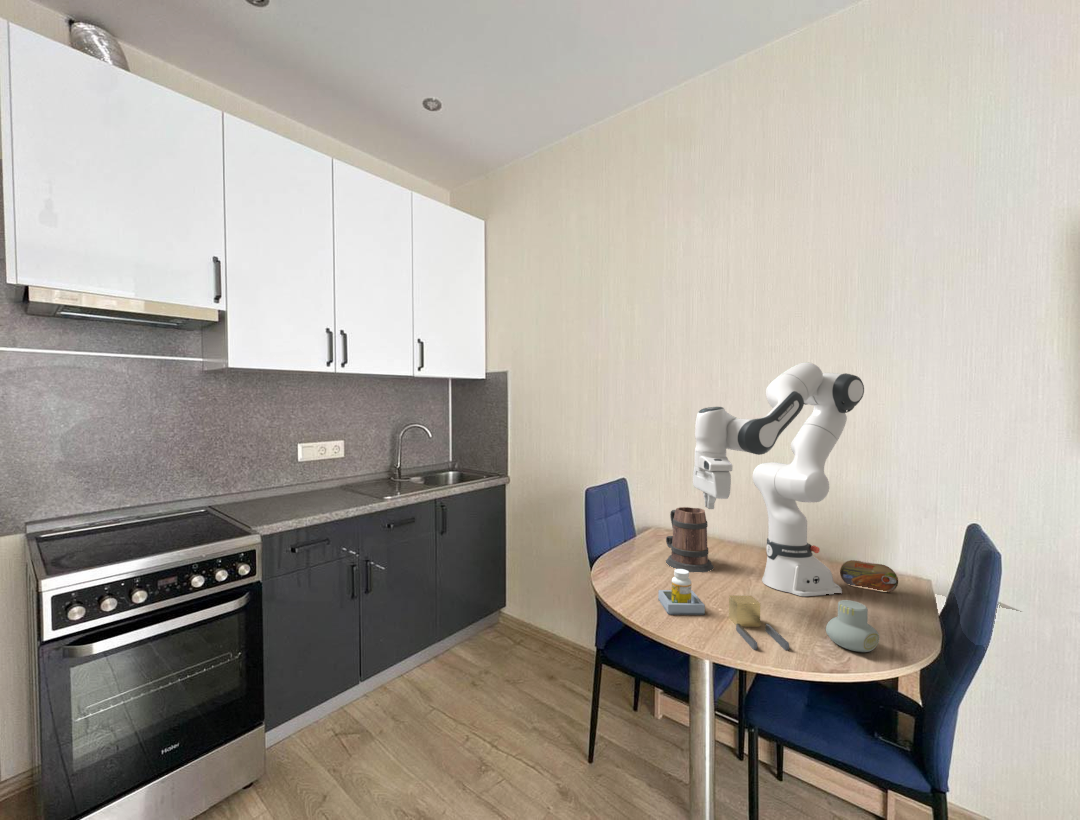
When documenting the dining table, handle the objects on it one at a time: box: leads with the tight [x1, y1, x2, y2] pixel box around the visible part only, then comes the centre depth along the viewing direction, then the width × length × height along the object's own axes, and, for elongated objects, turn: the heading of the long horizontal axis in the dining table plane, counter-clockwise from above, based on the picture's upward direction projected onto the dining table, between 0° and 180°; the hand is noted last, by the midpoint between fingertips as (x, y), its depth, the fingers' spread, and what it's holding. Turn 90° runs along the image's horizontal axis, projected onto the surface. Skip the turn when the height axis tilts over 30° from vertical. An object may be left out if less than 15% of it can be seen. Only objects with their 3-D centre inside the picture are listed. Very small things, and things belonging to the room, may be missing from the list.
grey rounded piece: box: [825, 599, 880, 653], centre depth 110 cm, size 11×8×10 cm
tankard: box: [665, 506, 715, 573], centre depth 170 cm, size 24×17×20 cm
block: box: [728, 594, 761, 628], centre depth 121 cm, size 6×5×6 cm
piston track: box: [735, 623, 790, 652], centre depth 116 cm, size 10×18×2 cm, turn 0°
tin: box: [839, 559, 899, 593], centre depth 146 cm, size 15×3×8 cm, turn 56°
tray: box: [657, 589, 706, 616], centre depth 130 cm, size 10×10×3 cm
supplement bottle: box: [671, 569, 692, 603], centre depth 130 cm, size 5×5×10 cm
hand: (709, 508), depth 136 cm, fingers closed
